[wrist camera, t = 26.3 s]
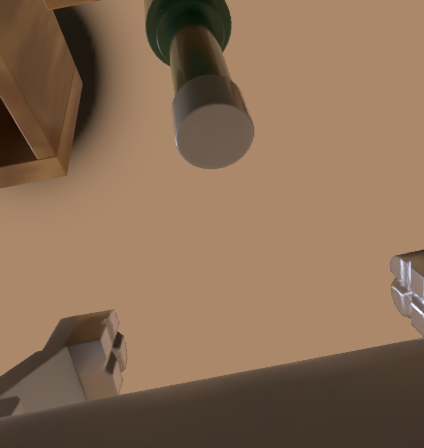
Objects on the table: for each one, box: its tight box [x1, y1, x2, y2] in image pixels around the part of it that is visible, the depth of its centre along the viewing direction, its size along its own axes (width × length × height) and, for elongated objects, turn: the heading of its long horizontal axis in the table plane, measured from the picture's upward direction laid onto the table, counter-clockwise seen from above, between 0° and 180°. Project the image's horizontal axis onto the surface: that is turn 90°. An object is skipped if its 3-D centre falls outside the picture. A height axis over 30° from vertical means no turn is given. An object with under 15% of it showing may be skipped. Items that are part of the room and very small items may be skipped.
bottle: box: [144, 0, 254, 169], centre depth 21 cm, size 20×4×4 cm, turn 172°
